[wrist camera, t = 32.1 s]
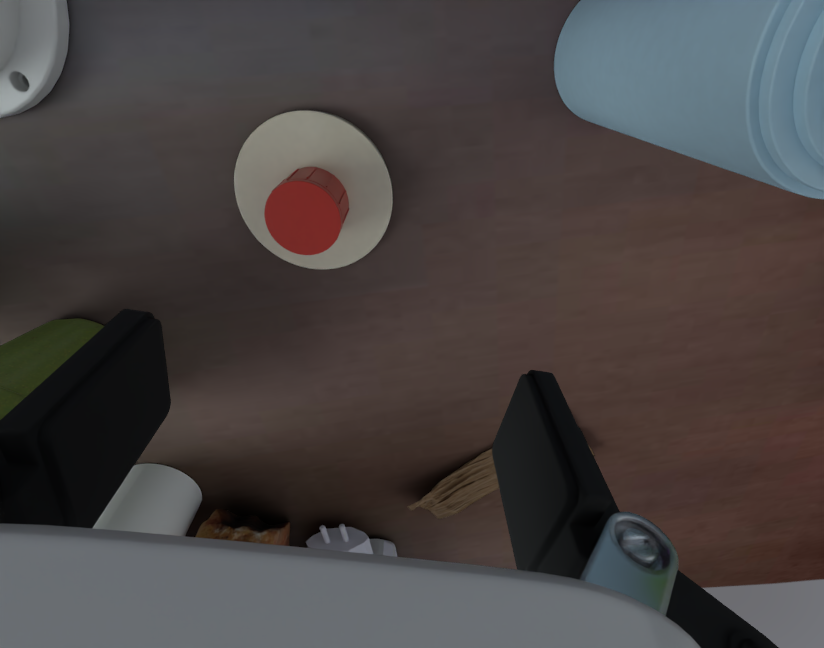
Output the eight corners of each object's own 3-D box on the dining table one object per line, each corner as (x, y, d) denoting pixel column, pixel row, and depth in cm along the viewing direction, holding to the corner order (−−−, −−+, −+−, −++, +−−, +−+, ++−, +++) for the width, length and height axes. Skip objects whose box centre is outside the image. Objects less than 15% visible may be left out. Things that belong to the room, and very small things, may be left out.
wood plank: (571, 425, 33) (599, 464, 35) (563, 407, 34) (590, 446, 36) (406, 505, 37) (439, 536, 39) (406, 486, 39) (438, 516, 41)
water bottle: (532, 33, 21) (957, -57, 5) (661, -63, 20) (2098, -763, 3) (583, 148, 24) (967, 345, 8) (701, 73, 22) (1558, 113, 6)
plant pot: (17, 401, 34) (-142, 538, 24) (-11, 264, 28) (-237, 374, 18) (176, 434, 35) (89, 574, 26) (182, 312, 30) (71, 435, 20)
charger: (385, 497, 40) (406, 586, 47) (286, 505, 40) (323, 592, 48) (383, 547, 35) (406, 636, 43) (272, 555, 36) (315, 641, 44)
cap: (311, 246, 26) (300, 268, 24) (266, 193, 25) (247, 210, 22) (362, 210, 25) (356, 229, 23) (317, 151, 24) (305, 164, 21)
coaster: (203, 173, 25) (199, 176, 24) (325, 71, 22) (323, 71, 22) (308, 290, 29) (306, 294, 28) (422, 214, 26) (423, 217, 26)
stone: (280, 589, 46) (220, 787, 32) (195, 564, 44) (94, 760, 31) (324, 497, 40) (275, 688, 27) (228, 465, 39) (124, 649, 25)
